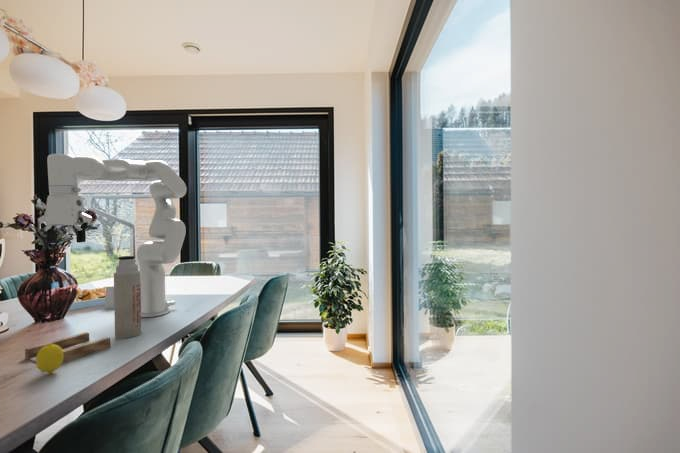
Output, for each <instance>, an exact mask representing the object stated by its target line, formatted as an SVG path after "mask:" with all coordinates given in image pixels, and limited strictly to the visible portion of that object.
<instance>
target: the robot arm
mask: <svg viewBox="0 0 680 453" xmlns="http://www.w3.org/2000/svg"><path fill="white" fill-rule="evenodd" d="M46 160H47V162H46V163H47V176H48V177H47V178H48V192H49V195H47V198H46V204H45V205H46V207H45V214H44V215H42V216H40V217H38V218H37V221H38V222H39V224H40V226H41V227H42V228H43V230H44V232H46V242H47V244H56V243H58V236H57V235H58V234H57V230H56V229H57V228H58V226H74V227H75V228H76V229H77V230H76V231H75V234H76V238H75V240H76V243H85V242H86V238H87V237H86V236H87V235H86V234H87V233H86V231H87V230H88V228H89V227H90V226H91V223H92V221H93V219H94V218H93V217H92V216H91V215H89V214H87V213H86V210H85V205H84V202H83V199H82V195H79V193H81V190H82V188H80V187H79V185H78V184H79V183H78V180H79V181H80V180H81V181H83V180H84V181H110V182H111V181H113V182H114V181H115V182H151V183H150V184H149V193H150V195H151V197H152V198H153V201H154V203H155V204H154V205H155V210H154V214H153V217H152V219H151V222H150V225H149V228H148V236H149V237H150V238H151V239H153V240H155V241H152V240H151V241H146V242H143V243H141V244H140V245H139V246H138V247H137V250H136V257H137V261H138V262H137V263H138V268H139V271H140V282H141V318H154V317H160V316H164V315H168V313H170V308H169V307H170V306H175V305H176V301H175V300H171V301H169V300H166V270H165V269H164V264H165V265H170V264H173V263H175V262H176V261H177V260H178V258H179V256H180V253H181V250H182V247H183V244H184V240H185V237H186V235H187V234H186V232H187V231H186V230H187V229H186V225H185V223H184V222H183V221H182V220H181V219H179V218H175V217H176V215H177V208H176V205H175V203H174V201H173V199H180V198H183V197H184V196H186V194H187V190H188V188H187V185H186V182H184V180H183V179H182V178H181V177H180V175H178V174H177V172H176V171H175V170H174V169H173V167H171V166H170V164H167V162H165V161H163V160H147V161H146V160H145V161H144V160H134V159H123V158H116V159H103V160H102V159H101V160H100V159H99V158H96V157H93V156H76V155H75V156H74V155H71V154H67V153H51V154H49V155H48V156H47V159H46ZM157 240H158V241H157Z"/></svg>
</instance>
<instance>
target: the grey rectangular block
mask: <svg viewBox="0 0 680 453" xmlns="http://www.w3.org/2000/svg"><path fill="white" fill-rule="evenodd" d="M104 294H105V296H104V297H105V298H104V303H105V304H104V305H105V307H104V308H105V309H104V310H109V309H111V310H112V309H114V285H113V286H106V287H105V293H104Z"/></svg>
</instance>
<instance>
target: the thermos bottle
mask: <svg viewBox="0 0 680 453" xmlns="http://www.w3.org/2000/svg"><path fill="white" fill-rule="evenodd" d="M135 258H136V257H135V256H134V255H124V256H118V264H117V265H116V266H115V272H114V273H113V286H114V308H113V309H114V337H115V338H116V339H130V338H134V337H137V336H139V335H141V334H142V317H141V282H140V270H139V264H137V263H136V260H135Z"/></svg>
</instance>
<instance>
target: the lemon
mask: <svg viewBox="0 0 680 453" xmlns="http://www.w3.org/2000/svg"><path fill="white" fill-rule="evenodd" d="M63 357H64V355H63V351H62V349H61V347H60V346H58V345H55V344H52V343H49V344H48V345H46V346H44V347H43V348H42V349H41V350H40V351H39V352H38V354H37V357H36V362H35V364H36V368H37V369H38V370H39V371H40V372H42V373H47V374H49V375H50V374H53V372H55V371H56V370H57V369H58V368H59V369H60V367H61V366H62V364H63V363H62V362H63Z"/></svg>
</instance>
